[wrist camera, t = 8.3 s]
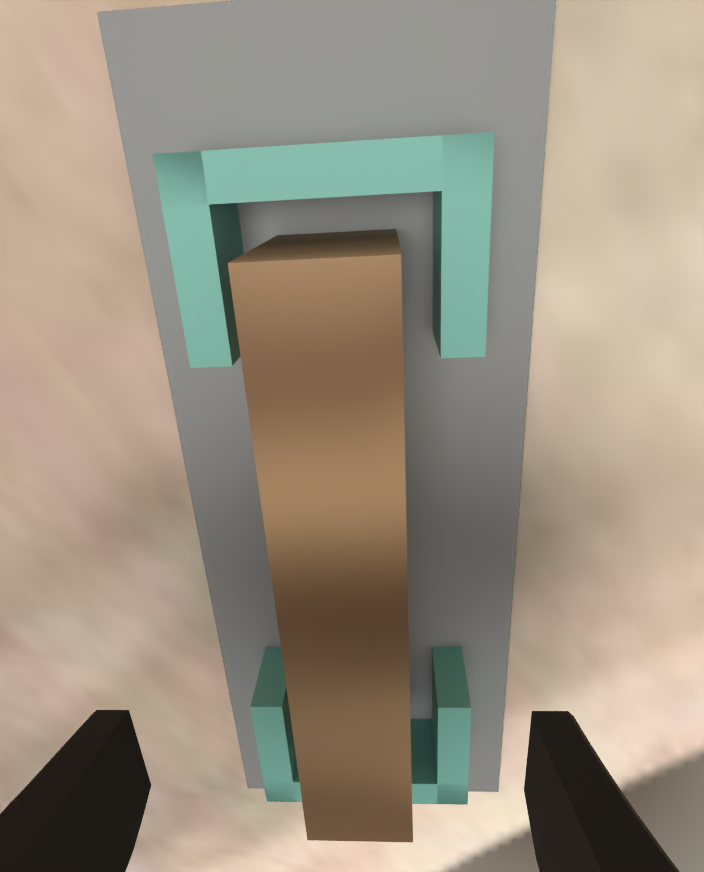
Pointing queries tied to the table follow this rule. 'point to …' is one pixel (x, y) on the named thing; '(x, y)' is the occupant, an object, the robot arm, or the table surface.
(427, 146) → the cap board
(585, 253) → the table surface
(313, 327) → the slat
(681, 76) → the table surface
